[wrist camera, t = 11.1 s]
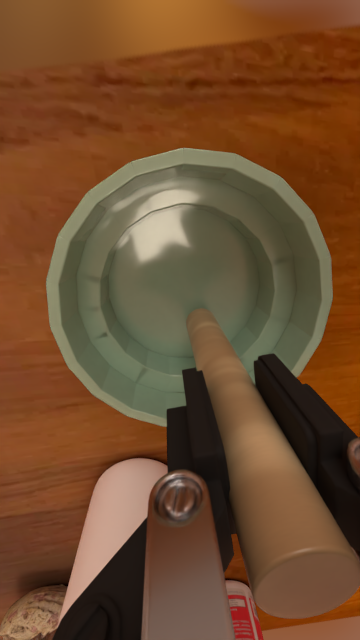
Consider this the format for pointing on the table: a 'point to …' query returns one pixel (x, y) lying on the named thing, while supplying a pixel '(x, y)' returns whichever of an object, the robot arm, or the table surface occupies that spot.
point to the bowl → (184, 275)
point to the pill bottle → (243, 611)
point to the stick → (271, 492)
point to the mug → (112, 519)
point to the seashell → (34, 613)
